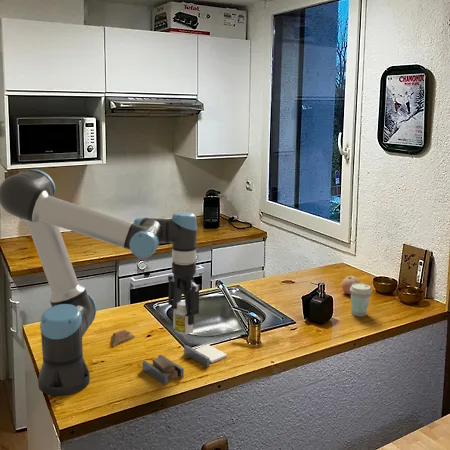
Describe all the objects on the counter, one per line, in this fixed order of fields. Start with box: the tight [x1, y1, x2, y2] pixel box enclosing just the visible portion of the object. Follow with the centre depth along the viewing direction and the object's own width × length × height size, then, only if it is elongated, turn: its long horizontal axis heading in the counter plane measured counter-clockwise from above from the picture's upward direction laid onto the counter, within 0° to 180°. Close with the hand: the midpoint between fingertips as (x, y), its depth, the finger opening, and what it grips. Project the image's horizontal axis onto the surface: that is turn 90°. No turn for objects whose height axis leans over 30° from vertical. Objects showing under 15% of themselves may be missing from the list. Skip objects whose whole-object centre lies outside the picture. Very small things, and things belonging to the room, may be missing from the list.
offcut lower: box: [150, 362, 179, 382], centre depth 175 cm, size 4×9×2 cm, turn 40°
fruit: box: [341, 275, 360, 296], centre depth 247 cm, size 8×8×8 cm
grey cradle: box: [141, 344, 210, 386], centre depth 178 cm, size 18×12×3 cm, turn 133°
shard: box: [111, 329, 136, 348], centre depth 198 cm, size 11×8×2 cm
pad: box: [194, 344, 228, 364], centre depth 188 cm, size 7×10×1 cm
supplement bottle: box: [174, 300, 187, 335], centre depth 176 cm, size 5×5×10 cm
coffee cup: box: [350, 283, 373, 318], centre depth 224 cm, size 9×8×12 cm
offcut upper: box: [152, 355, 175, 373], centre depth 174 cm, size 4×7×2 cm, turn 34°
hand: (182, 329), depth 177 cm, fingers closed on supplement bottle, 5 cm apart
